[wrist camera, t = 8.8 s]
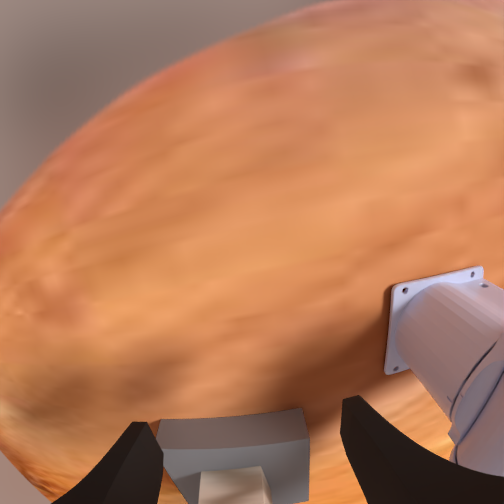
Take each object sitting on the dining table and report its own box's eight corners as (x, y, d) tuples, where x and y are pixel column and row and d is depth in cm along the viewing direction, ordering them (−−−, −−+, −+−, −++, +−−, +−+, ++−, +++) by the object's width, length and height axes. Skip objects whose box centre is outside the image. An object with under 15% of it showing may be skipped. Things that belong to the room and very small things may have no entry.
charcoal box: (301, 403, 22) (309, 438, 19) (302, 473, 26) (308, 500, 22) (161, 415, 22) (153, 448, 18) (195, 481, 25) (192, 509, 22)
